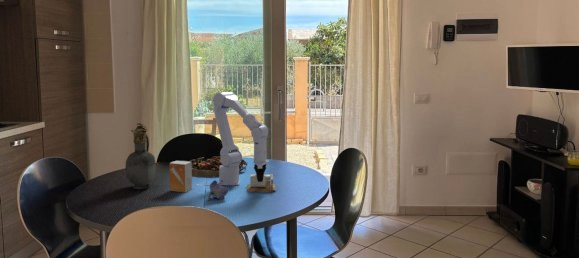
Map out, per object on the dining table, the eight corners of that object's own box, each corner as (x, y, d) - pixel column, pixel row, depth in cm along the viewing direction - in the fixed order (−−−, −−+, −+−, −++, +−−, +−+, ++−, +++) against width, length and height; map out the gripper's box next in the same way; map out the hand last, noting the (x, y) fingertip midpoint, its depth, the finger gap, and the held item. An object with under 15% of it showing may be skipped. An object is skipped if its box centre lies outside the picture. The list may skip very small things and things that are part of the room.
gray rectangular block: (250, 186, 223) (250, 176, 222) (250, 185, 227) (250, 174, 226) (270, 186, 224) (270, 176, 223) (270, 184, 227) (270, 174, 226)
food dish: (232, 163, 287) (232, 150, 286) (258, 175, 259) (258, 161, 258) (173, 167, 269) (174, 153, 268) (195, 181, 241) (195, 166, 240)
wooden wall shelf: (246, 192, 220) (246, 179, 219) (247, 185, 230) (247, 173, 230) (275, 191, 220) (275, 179, 219) (275, 185, 231) (275, 173, 230)
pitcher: (123, 191, 219) (121, 125, 215) (138, 181, 238) (136, 120, 233) (147, 192, 218) (145, 125, 214) (160, 181, 237) (158, 120, 233)
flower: (212, 189, 200) (222, 174, 207) (198, 194, 204) (208, 180, 212) (225, 204, 203) (234, 189, 210) (211, 209, 207) (220, 194, 215)
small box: (169, 191, 220) (168, 162, 218) (176, 187, 226) (176, 160, 224) (185, 192, 218) (184, 164, 216) (192, 189, 224) (191, 161, 222)
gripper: (268, 154, 216) (268, 184, 218) (268, 148, 230) (268, 176, 232) (252, 154, 216) (253, 184, 217) (253, 148, 230) (254, 176, 232)
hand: (260, 180), depth 225 cm, fingers closed on gray rectangular block, 3 cm apart
